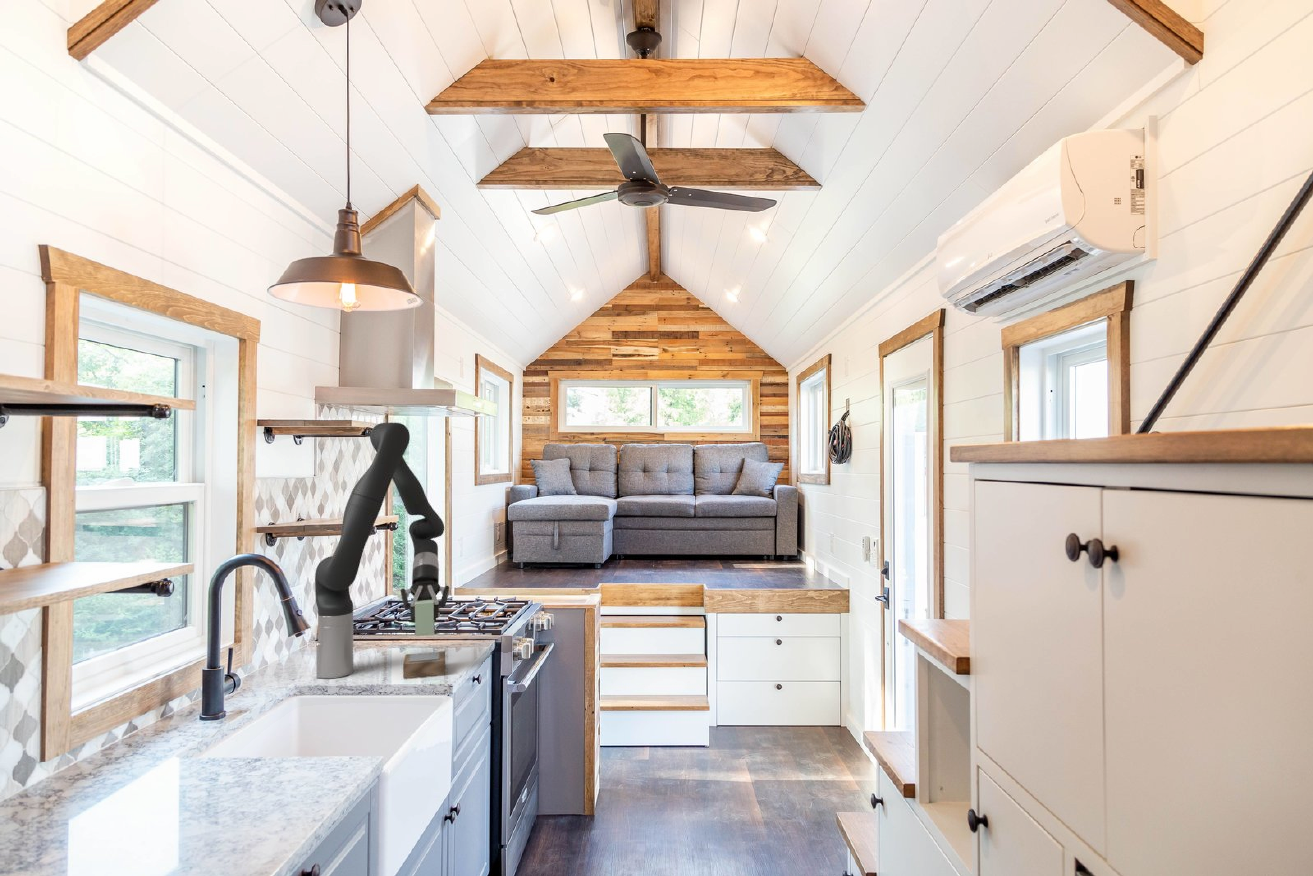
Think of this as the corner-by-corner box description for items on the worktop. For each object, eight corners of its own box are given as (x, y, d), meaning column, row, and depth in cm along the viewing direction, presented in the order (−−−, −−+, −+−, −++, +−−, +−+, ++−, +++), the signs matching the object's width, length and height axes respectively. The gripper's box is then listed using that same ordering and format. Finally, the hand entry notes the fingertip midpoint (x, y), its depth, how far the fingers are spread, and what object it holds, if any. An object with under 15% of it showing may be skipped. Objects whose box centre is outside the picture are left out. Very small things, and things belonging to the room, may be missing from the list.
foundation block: (403, 679, 198) (403, 663, 198) (405, 668, 208) (405, 653, 208) (444, 675, 200) (444, 659, 201) (445, 664, 211) (445, 650, 211)
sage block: (415, 636, 202) (414, 604, 202) (416, 632, 207) (415, 600, 207) (433, 634, 203) (433, 602, 203) (434, 630, 208) (433, 599, 208)
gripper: (399, 564, 211) (396, 614, 199) (450, 561, 215) (450, 609, 203) (401, 580, 216) (398, 629, 204) (450, 576, 219) (451, 624, 207)
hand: (424, 619), depth 203 cm, fingers closed on sage block, 5 cm apart
